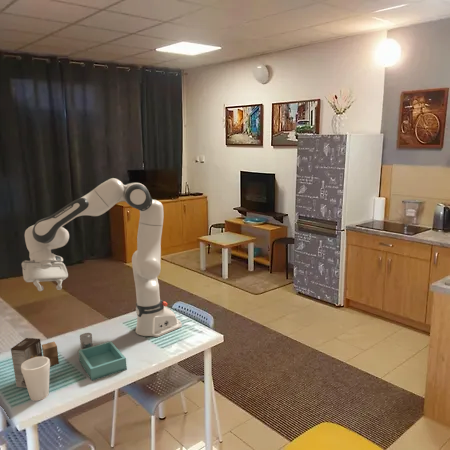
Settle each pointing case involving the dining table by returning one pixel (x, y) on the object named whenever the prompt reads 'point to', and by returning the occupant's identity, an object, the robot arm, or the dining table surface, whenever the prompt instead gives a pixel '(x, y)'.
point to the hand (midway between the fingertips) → (50, 289)
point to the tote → (102, 360)
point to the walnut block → (51, 352)
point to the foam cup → (36, 377)
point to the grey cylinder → (86, 340)
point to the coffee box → (24, 357)
